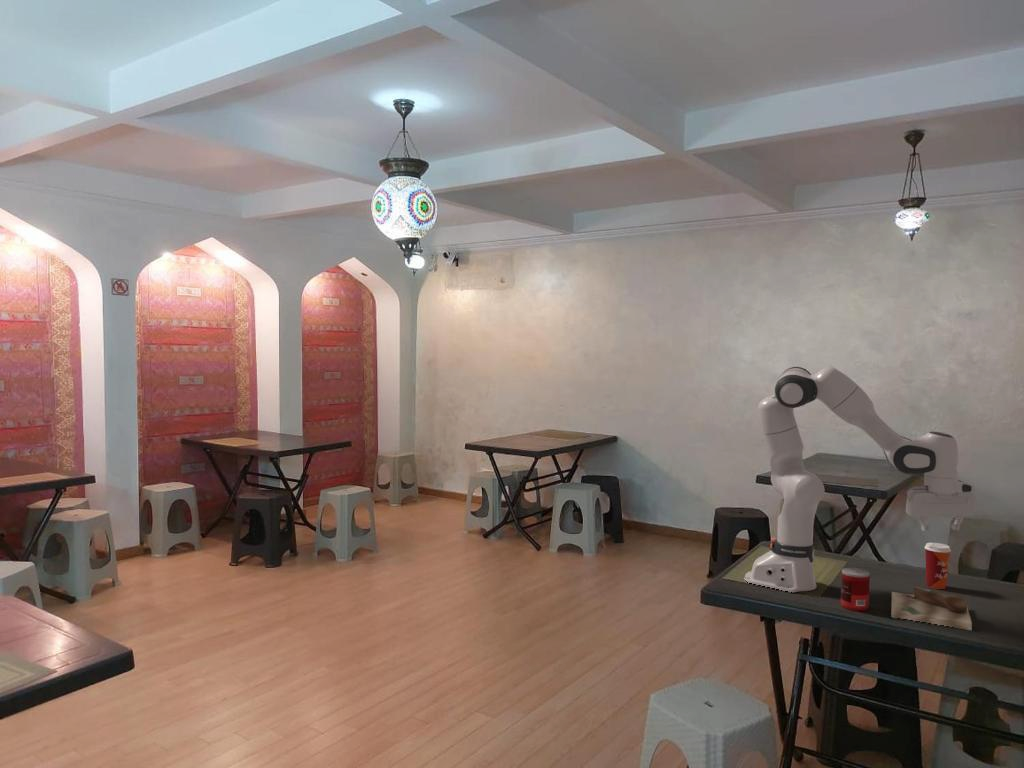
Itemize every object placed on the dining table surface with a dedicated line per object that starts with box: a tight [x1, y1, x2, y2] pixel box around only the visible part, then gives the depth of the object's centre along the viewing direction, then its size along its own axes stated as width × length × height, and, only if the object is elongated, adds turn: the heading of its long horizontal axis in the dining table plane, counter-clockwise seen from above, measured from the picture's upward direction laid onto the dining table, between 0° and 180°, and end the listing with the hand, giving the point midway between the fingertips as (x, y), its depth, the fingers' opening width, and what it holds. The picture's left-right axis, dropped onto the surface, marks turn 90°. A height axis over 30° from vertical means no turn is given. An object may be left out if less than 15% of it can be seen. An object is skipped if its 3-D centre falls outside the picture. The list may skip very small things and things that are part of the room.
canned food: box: [840, 567, 871, 612], centre depth 224 cm, size 8×8×11 cm
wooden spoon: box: [913, 586, 968, 612], centre depth 220 cm, size 14×5×4 cm, turn 32°
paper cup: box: [924, 542, 952, 590], centre depth 243 cm, size 8×8×14 cm
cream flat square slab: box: [890, 591, 973, 631], centre depth 219 cm, size 20×19×2 cm
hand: (940, 530), depth 224 cm, fingers open, 8 cm apart
